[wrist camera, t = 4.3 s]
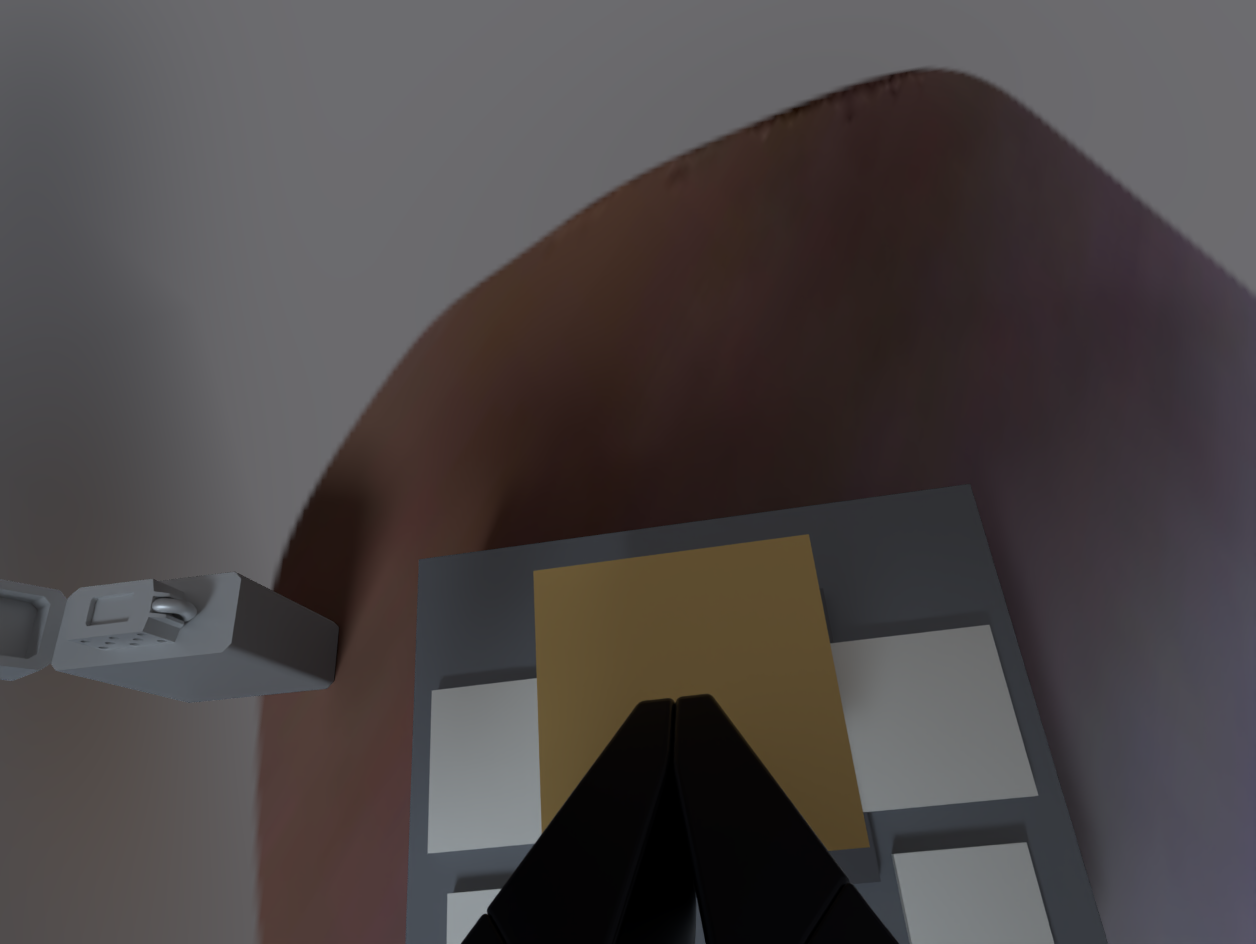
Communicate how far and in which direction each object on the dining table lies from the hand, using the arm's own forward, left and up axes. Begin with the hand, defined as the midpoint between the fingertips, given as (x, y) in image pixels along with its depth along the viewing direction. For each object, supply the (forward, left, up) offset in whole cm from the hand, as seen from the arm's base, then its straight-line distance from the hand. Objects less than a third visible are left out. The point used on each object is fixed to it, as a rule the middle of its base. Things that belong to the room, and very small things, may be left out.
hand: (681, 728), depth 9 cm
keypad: (0, 0, -9) cm, 9 cm away
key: (+1, 0, -4) cm, 4 cm away
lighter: (+4, +13, -10) cm, 17 cm away
